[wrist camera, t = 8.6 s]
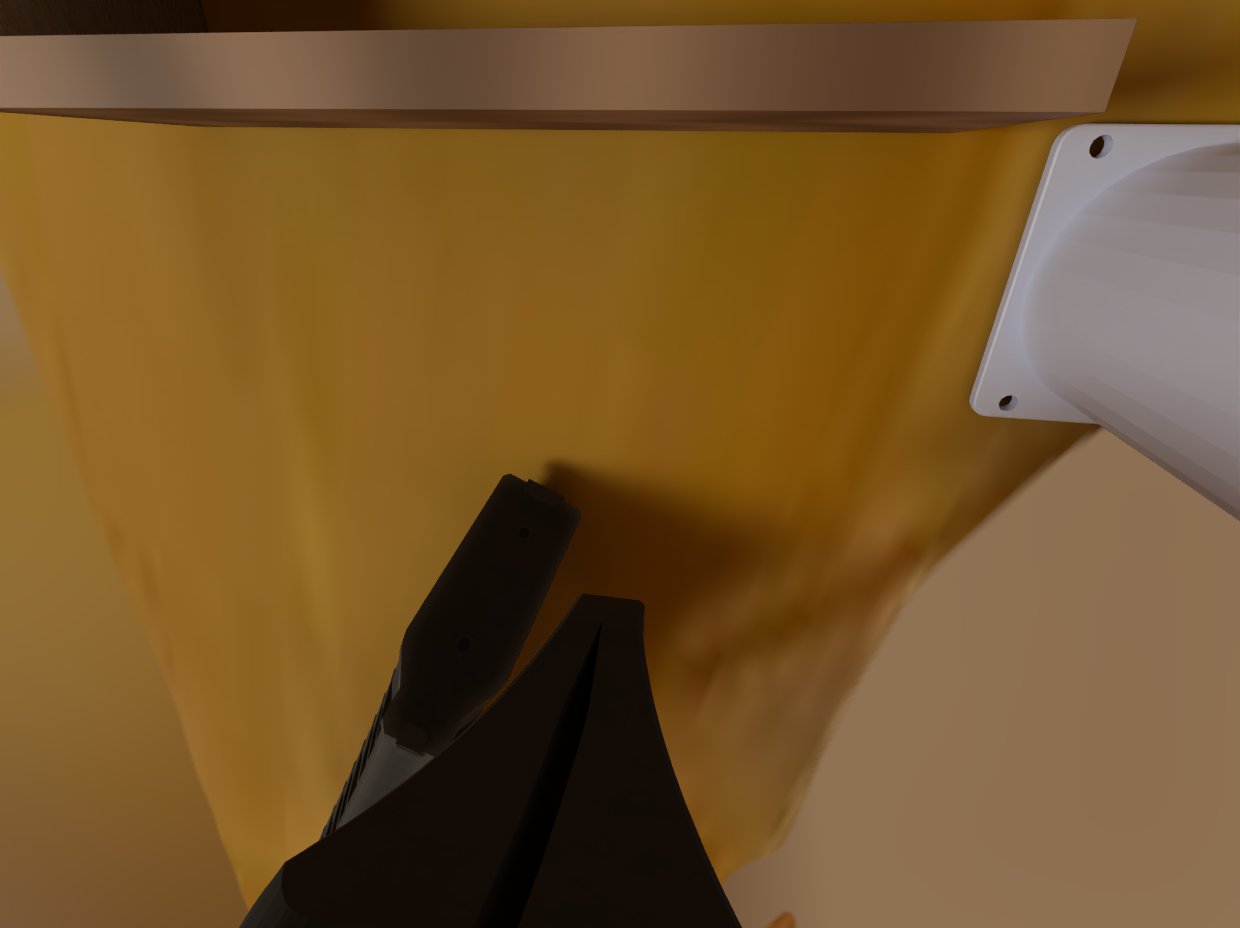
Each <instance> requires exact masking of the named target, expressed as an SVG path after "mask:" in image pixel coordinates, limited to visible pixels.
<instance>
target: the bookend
mask: <svg viewBox="0 0 1240 928" xmlns="http://www.w3.org/2000/svg"><path fill="white" fill-rule="evenodd" d="M173 33H207V29H206V25H205V22H204V18H203V14H202V10H201V6H200V3H199V0H0V36H45V35H109V34H173ZM1 112H3V111H1ZM11 112H12V113H13V111H11ZM11 112H5V113H11ZM14 113H16V112H14ZM17 113H19V114H24V113H20V112H17ZM25 114H27V113H25ZM28 114H30V113H28ZM33 114H34V113H33ZM35 115H39V114H35ZM40 115H41V114H40ZM42 115H44V114H42ZM45 115H46V114H45ZM47 116H49V114H47ZM51 116H53V114H52V115H51ZM55 116H57V115H55ZM58 116H60V115H58ZM61 117H62V116H61ZM63 117H66V116H65V115H64V116H63ZM67 117H70V116H67ZM72 117H73V116H72ZM81 117H82V116H80V117H79V116H78V117H75V118H81ZM82 118H87V117H82ZM89 118H90V119H94V118H95V117H94V118H93V117H89ZM89 118H88V119H89ZM95 119H96V118H95ZM99 119H102V120H105V119H106V118H99ZM107 119H108V118H107ZM107 119H106V120H107ZM116 119H117V118H116ZM116 119H112V118H111V119H108V120H116ZM120 120H121V121H122V119H120ZM120 120H117V121H120ZM123 121H125V120H123ZM126 121H131V122H132V120H127V119H126ZM136 121H137V120H136ZM138 121H139V120H138ZM138 121H137V122H138ZM134 122H135V120H134ZM139 122H141V121H139ZM147 122H148V123H151V122H152V123H153V121H151V122H149V121H147ZM144 123H146V122H145V121H144ZM154 123H155V122H154ZM156 123H157V124H166V123H167V124H169V123H170V122H166V123H164V122H163V123H161V122H160V123H159V122H156ZM171 124H172V123H171ZM175 124H176V125H177V123H174V125H175ZM182 124H183V125H184V123H182ZM182 124H181V123H180V124H179V123H178V125H182ZM172 125H173V124H172ZM191 125H192V124H190V125H188V124H187V125H185V126H191ZM197 125H198V124H195V126H197ZM198 126H199V127H200V126H201V127H203V126H205V125H201V124H200V125H198ZM208 126H209V127H210V125H207V126H205V127H208ZM213 126H214V127H215V125H213ZM211 127H212V125H211ZM217 127H221V126H217ZM222 127H223V126H222ZM224 127H225V126H224ZM228 127H229V126H228Z"/></svg>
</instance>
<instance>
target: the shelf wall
mask: <svg viewBox="0 0 1240 928" xmlns="http://www.w3.org/2000/svg"><path fill="white" fill-rule="evenodd" d="M1137 20H1138V18H1136V19H1072V20H1008V21H944V22H880V23H815V24H751V25H687V26H623V27H559V28H494V29H430V30H366V31H302V32H238V33H173V34H109V35H45V36H0V112H1V111H3V112H11V111H13V113H14V112H16V113H17V112H20V113H24V114H25V113H27V114H28V113H30V114H33V113H34V114H33V115H35V114H39V115H40V114H41V115H42V114H44V115H45V114H46V115H47V114H49V116H51V115H52V114H53V116H55V115H57V116H58V115H60V116H62V117H63V116H64V115H65V116H66V117H67V116H70V117H72V116H73V117H74V118H75V117H78V116H79V117H80V116H82V117H87V118H89V117H93V118H94V117H95V118H96V119H99V118H106V119H107V118H108V119H111V118H112V119H116V118H117V119H116V121H117V120H120V119H122V121H123V120H125V121H126V119H127V120H132V122H134V120H135V122H137V121H138V120H139V121H141V122H144V121H145V122H146V123H148V122H147V121H149V122H151V121H153V123H154V122H155V123H156V122H159V123H160V122H161V123H163V122H164V123H166V122H170V123H169V124H171V123H172V124H173V125H174V123H177V125H178V123H179V124H180V123H181V124H182V123H184V125H187V124H188V125H190V124H192V125H191V126H195V124H198V125H200V124H201V125H205V126H207V125H210V127H211V125H212V127H214V126H213V125H215V127H217V126H221V127H222V126H223V127H224V126H225V127H228V126H229V127H316V128H433V129H550V130H667V131H783V132H900V133H953V132H961V131H968V130H975V129H983V128H990V127H997V126H1005V125H1012V124H1019V123H1027V122H1034V121H1042V120H1049V119H1056V118H1064V117H1071V116H1078V115H1086V114H1093V113H1100V112H1105V110H1106V107H1107V104H1108V101H1109V98H1110V96H1111V93H1112V90H1113V87H1114V84H1115V81H1116V79H1117V76H1118V73H1119V70H1120V67H1121V65H1122V62H1123V59H1124V56H1125V53H1126V51H1127V48H1128V45H1129V42H1130V39H1131V37H1132V34H1133V31H1134V28H1135V25H1136V23H1137ZM11 113H12V112H11ZM82 117H81V118H82ZM95 118H94V119H95ZM89 119H90V118H89ZM106 119H105V120H106ZM108 119H107V120H108ZM136 120H137V121H136ZM120 121H121V120H120ZM139 121H138V122H139ZM130 122H131V121H130ZM151 123H152V122H151ZM166 124H167V123H166ZM172 124H171V125H172ZM175 125H176V124H175ZM182 125H183V124H182ZM198 125H197V126H198ZM205 126H203V127H205ZM200 127H201V126H200ZM208 127H209V126H208Z"/></svg>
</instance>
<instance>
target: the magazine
mask: <svg viewBox="0 0 1240 928" xmlns="http://www.w3.org/2000/svg"><path fill="white" fill-rule="evenodd" d="M563 499H564V497H563V496H561V495H559V494H557V493H555V492H553V491H551V490H549V489H548V488H546V487H544V486H542V485H540V484H538V483H536V482H534V481H532V480H530V479H529V480H528V482H525V481H523V480H521V479H520V478H518V477H516V476H514V475H512V474H507V475H504V476H503V477H502V479H501V480H500V482H499V483H498V485H497V487H496V488H495V490H494V491H493V493H492V495H491V496H490V498H489V499H488V501H487V502H486V504H485V506H484V507H483V509H482V510H481V512H480V514H479V515H478V517H477V518H476V520H475V522H474V523H473V525H472V526H471V528H470V529H469V531H468V533H467V534H466V536H465V537H464V539H463V541H462V542H461V544H460V545H459V547H458V549H457V550H456V552H455V553H454V555H453V557H452V558H451V560H450V561H449V563H448V564H447V566H446V568H445V569H444V571H443V572H442V574H441V576H440V577H439V579H438V580H437V582H436V584H435V585H434V587H433V588H432V590H431V592H430V593H429V595H428V596H427V598H426V599H425V601H424V603H423V604H422V606H421V607H420V609H419V611H418V612H417V614H416V615H415V617H414V619H413V620H412V622H411V623H410V625H409V627H408V628H407V630H406V632H405V635H404V638H403V642H402V645H401V648H400V655H399V661H398V664H397V667H396V668H395V669H394V672H393V675H392V679H391V682H390V684H389V687H388V689H387V692H386V693H385V694H384V697H383V700H382V704H381V706H380V708H379V711H378V713H377V715H376V716H375V718H374V721H373V724H372V727H371V729H370V731H369V734H368V736H367V738H366V740H364V743H363V746H362V749H361V751H360V754H359V756H358V758H357V760H356V761H355V763H354V765H353V768H352V771H351V773H350V776H349V778H348V780H347V782H345V785H344V788H343V791H342V793H341V795H340V797H339V799H338V801H337V804H336V805H335V806H334V808H333V811H332V814H331V816H330V818H329V820H328V822H327V824H326V826H325V827H324V829H323V832H322V835H321V837H320V839H319V840H321V839H322V838H324V837H325V836H327V835H328V834H330V833H332V832H333V831H335V830H336V829H338V828H339V827H341V826H342V825H344V824H346V823H347V822H349V821H350V820H352V819H353V818H355V817H356V816H357V815H359V814H360V813H362V812H363V811H365V810H366V809H367V808H369V807H370V806H371V805H373V804H374V803H375V802H377V801H378V800H380V799H381V798H382V797H384V796H385V795H386V794H388V793H389V792H390V791H392V790H393V789H394V788H396V787H397V786H398V785H400V784H401V783H403V782H404V781H405V780H407V779H408V778H409V777H411V776H412V775H413V774H414V773H416V772H417V771H418V770H419V769H421V768H422V767H423V766H424V765H426V764H427V763H428V762H429V761H430V760H432V759H433V758H434V757H435V756H436V755H437V754H439V753H440V752H441V751H442V750H443V749H444V748H446V747H447V746H448V745H449V744H450V743H451V742H452V741H454V740H455V739H456V738H457V737H458V736H459V735H460V734H462V733H463V732H464V731H465V730H466V729H467V728H468V727H469V726H470V725H471V724H472V723H473V722H474V720H475V719H476V718H477V717H478V715H479V714H480V713H481V712H482V709H483V707H484V706H485V704H486V703H487V702H488V701H489V700H490V699H492V698H493V697H494V696H495V695H496V694H497V693H498V691H499V690H500V689H501V688H502V686H503V685H504V684H505V683H506V681H507V680H508V678H509V676H510V674H511V672H512V669H513V667H514V665H515V663H516V660H517V658H518V656H519V654H520V652H521V649H522V647H523V645H524V643H525V640H526V638H527V636H528V634H529V631H530V629H531V627H532V625H533V623H534V620H535V618H536V616H537V614H538V611H539V609H540V607H541V605H542V603H543V600H544V598H545V596H546V594H547V591H548V589H549V587H550V585H551V583H552V580H553V578H554V576H555V574H556V571H557V569H558V567H559V565H560V563H561V560H562V558H563V556H564V554H565V551H566V549H567V547H568V545H569V543H570V540H571V538H572V536H573V534H574V531H575V529H576V527H577V525H578V523H579V520H580V518H581V514H580V511H579V509H577V508H575V507H573V506H571V505H569V504H567V503H565V502H563Z"/></svg>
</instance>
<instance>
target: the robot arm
mask: <svg viewBox="0 0 1240 928" xmlns="http://www.w3.org/2000/svg"><path fill="white" fill-rule="evenodd" d="M1099 136H1101V137H1102V138H1103V140H1104V148H1103V149H1102V151H1101V152H1100V154H1098V155H1097V156H1096V157H1094V158H1093V157H1092V156H1091V155H1090V153H1089V150H1090V145H1091V144H1092V142H1093V141H1094V140H1095V139H1096V138H1097V137H1099ZM1009 395H1012V400H1011V401H1010V403H1009V404H1007V405H1005V406H999V402H1000V401H1001V399H1002V398H1004V397H1005V396H1009ZM969 403H970V406H971V408H972V409H973V410H974V411H975V412H977V413H978V414H979V415H983V416H989V417H1004V418H1018V419H1032V420H1047V421H1061V422H1076V423H1090V424H1099V425H1101V426H1102V427H1104V428H1105V429H1107V430H1108V431H1110V432H1111V433H1112V434H1114V435H1115V436H1117V437H1119V438H1120V439H1121V440H1123V441H1124V442H1126V443H1127V444H1128V445H1130V446H1132V447H1133V448H1135V449H1136V450H1137V451H1139V452H1140V453H1142V454H1143V455H1144V456H1146V457H1147V458H1149V459H1150V460H1152V461H1153V462H1155V463H1156V464H1158V465H1159V466H1161V467H1162V468H1164V469H1165V470H1166V471H1168V472H1169V473H1171V474H1172V475H1174V476H1175V477H1177V478H1178V479H1179V480H1181V481H1182V482H1184V483H1185V484H1187V485H1188V486H1190V487H1191V488H1193V489H1194V490H1196V491H1197V492H1198V493H1200V494H1201V495H1203V496H1204V497H1206V498H1207V499H1209V500H1210V501H1212V502H1213V503H1214V504H1216V505H1218V506H1219V507H1220V508H1222V509H1223V510H1225V511H1226V512H1227V513H1229V514H1231V515H1232V516H1233V517H1235V518H1236V519H1238V520H1239V521H1240V125H1201V124H1080V125H1075V126H1071V127H1069V128H1067V129H1066V130H1064V131H1062V132H1061V133H1060V135H1059V136H1058V137H1057V138H1056V139H1055V141H1054V143H1053V145H1052V147H1051V150H1050V153H1049V156H1048V159H1047V162H1046V165H1045V168H1044V172H1043V175H1042V178H1041V181H1040V184H1039V187H1038V190H1037V193H1036V196H1035V199H1034V202H1033V205H1032V208H1031V211H1030V214H1029V217H1028V221H1027V224H1026V227H1025V230H1024V233H1023V236H1022V239H1021V242H1020V245H1019V248H1018V251H1017V254H1016V257H1015V260H1014V263H1013V266H1012V270H1011V273H1010V276H1009V279H1008V282H1007V285H1006V288H1005V291H1004V294H1003V297H1002V300H1001V303H1000V306H999V309H998V312H997V315H996V319H995V322H994V325H993V328H992V331H991V334H990V337H989V340H988V343H987V346H986V349H985V352H984V355H983V358H982V361H981V364H980V368H979V371H978V374H977V377H976V380H975V383H974V386H973V389H972V392H971V395H970V401H969ZM644 608H645V606H644V605H643V603H642V602H641V601H639V600H631V599H622V598H614V597H605V596H597V595H589V594H582V595H580V596H579V597H578V598H577V599H576V601H575V603H574V604H573V606H572V607H571V609H570V610H569V612H568V613H567V615H566V616H565V618H564V619H563V620H562V622H561V623H560V625H559V626H558V627H557V629H556V630H555V631H554V633H553V634H552V635H551V637H550V638H549V639H548V641H547V642H546V643H545V644H544V646H543V647H542V648H541V649H540V650H539V652H538V653H537V654H536V655H535V657H534V658H533V659H532V660H531V662H530V663H529V664H528V665H527V666H526V668H525V669H524V670H523V671H522V672H521V673H520V674H519V675H518V677H517V678H516V679H515V680H514V681H513V682H512V683H511V684H510V685H509V686H508V688H507V689H506V690H505V691H504V692H503V693H502V694H501V695H500V696H499V697H498V698H497V699H496V701H495V702H494V703H493V704H492V705H491V706H490V707H489V708H488V709H487V710H486V711H485V712H484V713H483V714H482V715H481V716H480V717H479V718H478V719H476V720H475V721H474V722H473V723H472V724H471V725H470V726H469V727H468V728H467V729H466V730H465V731H464V732H463V733H462V734H460V735H459V736H458V737H457V738H456V739H455V740H454V741H452V742H451V743H450V744H449V745H448V746H447V747H446V748H444V749H443V750H442V751H441V752H440V753H439V754H437V755H436V756H435V757H434V758H433V759H432V760H430V761H429V762H428V763H427V764H426V765H424V766H423V767H422V768H421V769H419V770H418V771H417V772H416V773H414V774H413V775H412V776H411V777H409V778H408V779H407V780H405V781H404V782H403V783H401V784H400V785H398V786H397V787H396V788H394V789H393V790H392V791H390V792H389V793H388V794H386V795H385V796H384V797H382V798H381V799H380V800H378V801H377V802H375V803H374V804H373V805H371V806H370V807H369V808H367V809H366V810H365V811H363V812H362V813H360V814H359V815H357V816H356V817H355V818H353V819H352V820H350V821H349V822H347V823H346V824H344V825H342V826H341V827H339V828H338V829H336V830H335V831H333V832H332V833H330V834H328V835H327V836H325V837H324V838H322V839H321V840H319V841H318V842H316V843H315V844H313V845H311V846H310V847H308V848H307V849H305V850H304V851H302V852H301V853H299V854H297V855H296V856H294V857H293V858H291V859H289V860H288V861H286V862H285V863H284V864H283V866H282V867H281V868H280V870H279V871H278V873H277V874H276V875H275V877H274V878H273V879H272V881H271V882H270V883H269V884H268V886H267V887H266V888H265V890H264V891H263V892H262V894H261V895H260V896H259V898H258V899H257V901H256V902H255V904H254V905H253V906H252V908H251V910H250V911H249V913H248V914H247V916H246V918H245V919H244V921H243V923H242V924H241V926H240V927H239V928H742V927H741V925H740V923H739V921H738V919H737V917H736V915H735V913H734V911H733V909H732V907H731V905H730V903H729V901H728V899H727V897H726V895H725V893H724V891H723V889H722V886H721V884H720V882H719V880H718V878H717V876H716V873H715V871H714V869H713V867H712V865H711V863H710V860H709V858H708V856H707V854H706V852H705V849H704V847H703V844H702V842H701V839H700V837H699V835H698V832H697V830H696V827H695V825H694V822H693V820H692V818H691V815H690V813H689V810H688V808H687V805H686V803H685V800H684V798H683V795H682V792H681V789H680V787H679V784H678V781H677V778H676V776H675V773H674V770H673V767H672V764H671V761H670V758H669V754H668V751H667V748H666V745H665V742H664V738H663V735H662V731H661V728H660V724H659V720H658V716H657V712H656V708H655V704H654V700H653V696H652V691H651V686H650V681H649V675H648V670H647V664H646V658H645V650H644V640H643V628H644Z"/></svg>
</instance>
